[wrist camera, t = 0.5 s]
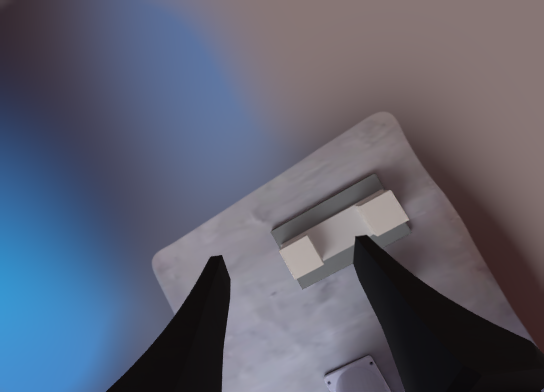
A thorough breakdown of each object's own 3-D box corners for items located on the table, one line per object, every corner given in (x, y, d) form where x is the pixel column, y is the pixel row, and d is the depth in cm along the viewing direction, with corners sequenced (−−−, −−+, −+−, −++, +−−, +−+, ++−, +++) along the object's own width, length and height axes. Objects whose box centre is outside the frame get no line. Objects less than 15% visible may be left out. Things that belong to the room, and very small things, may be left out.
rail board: (409, 231, 35) (424, 236, 30) (302, 287, 37) (301, 299, 33) (373, 174, 36) (382, 169, 31) (271, 231, 38) (266, 235, 34)
